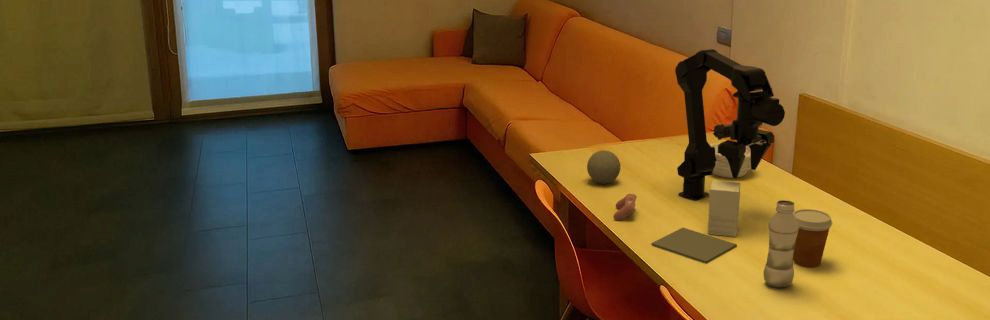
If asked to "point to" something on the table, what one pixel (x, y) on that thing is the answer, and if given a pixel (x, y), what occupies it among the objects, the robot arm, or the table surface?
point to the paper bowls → (723, 165)
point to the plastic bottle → (781, 245)
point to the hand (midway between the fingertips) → (744, 173)
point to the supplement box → (724, 208)
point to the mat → (694, 245)
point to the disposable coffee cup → (811, 236)
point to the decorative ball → (603, 166)
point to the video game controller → (625, 206)
